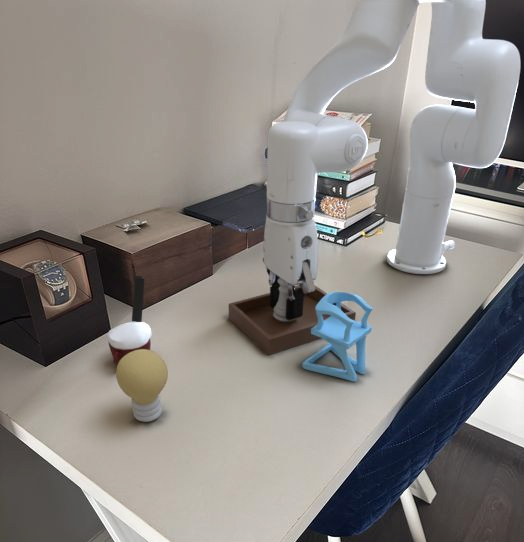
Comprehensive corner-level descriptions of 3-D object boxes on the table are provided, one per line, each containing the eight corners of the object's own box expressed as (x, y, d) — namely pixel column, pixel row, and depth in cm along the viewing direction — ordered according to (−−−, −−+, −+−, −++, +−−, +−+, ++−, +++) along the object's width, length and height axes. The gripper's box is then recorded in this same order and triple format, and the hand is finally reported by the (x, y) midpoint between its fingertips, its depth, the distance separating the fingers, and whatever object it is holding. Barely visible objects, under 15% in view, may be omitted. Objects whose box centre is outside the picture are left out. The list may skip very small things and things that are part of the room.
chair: (346, 389, 74) (356, 318, 67) (300, 367, 79) (305, 298, 72) (373, 366, 79) (385, 298, 72) (329, 347, 83) (336, 280, 77)
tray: (309, 295, 99) (310, 281, 97) (354, 327, 89) (356, 312, 87) (228, 318, 91) (228, 303, 89) (268, 355, 81) (268, 339, 80)
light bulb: (114, 414, 69) (103, 353, 63) (154, 394, 73) (146, 334, 67) (141, 438, 65) (131, 375, 60) (181, 415, 69) (175, 354, 63)
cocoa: (122, 379, 75) (110, 308, 69) (97, 363, 79) (83, 294, 72) (170, 352, 81) (164, 285, 75) (145, 339, 85) (137, 273, 78)
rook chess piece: (300, 312, 91) (303, 272, 87) (295, 325, 88) (297, 283, 83) (276, 309, 92) (277, 268, 88) (270, 321, 89) (271, 279, 84)
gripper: (343, 221, 75) (332, 327, 85) (281, 191, 87) (278, 288, 97) (301, 229, 72) (295, 339, 82) (243, 197, 84) (243, 297, 94)
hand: (285, 310), depth 89 cm, fingers closed on rook chess piece, 4 cm apart
